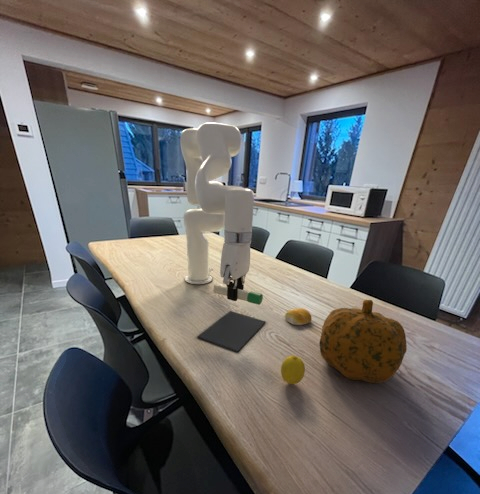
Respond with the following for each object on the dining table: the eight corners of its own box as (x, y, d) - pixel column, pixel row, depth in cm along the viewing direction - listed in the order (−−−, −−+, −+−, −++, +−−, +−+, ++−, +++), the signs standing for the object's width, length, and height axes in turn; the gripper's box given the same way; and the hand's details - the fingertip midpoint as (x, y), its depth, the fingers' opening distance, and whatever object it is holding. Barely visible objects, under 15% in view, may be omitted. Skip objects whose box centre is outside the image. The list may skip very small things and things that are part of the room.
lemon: (277, 375, 67) (280, 349, 63) (298, 375, 67) (303, 349, 64) (282, 391, 62) (286, 364, 58) (304, 390, 62) (310, 364, 59)
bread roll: (315, 321, 93) (317, 311, 91) (296, 328, 88) (298, 317, 87) (298, 312, 99) (300, 302, 97) (280, 317, 95) (281, 307, 93)
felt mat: (230, 312, 96) (230, 310, 96) (265, 322, 91) (265, 321, 91) (197, 337, 80) (197, 336, 80) (237, 352, 75) (237, 350, 75)
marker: (213, 294, 82) (213, 285, 81) (218, 291, 85) (218, 282, 83) (257, 306, 76) (258, 296, 74) (262, 302, 78) (263, 292, 77)
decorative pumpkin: (357, 405, 58) (379, 322, 51) (300, 356, 76) (311, 290, 69) (417, 385, 66) (443, 311, 59) (352, 345, 84) (366, 285, 77)
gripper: (239, 231, 81) (237, 286, 89) (209, 240, 67) (209, 304, 75) (262, 234, 78) (257, 291, 86) (235, 244, 64) (232, 311, 72)
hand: (235, 297), depth 80 cm, fingers closed on marker, 3 cm apart
